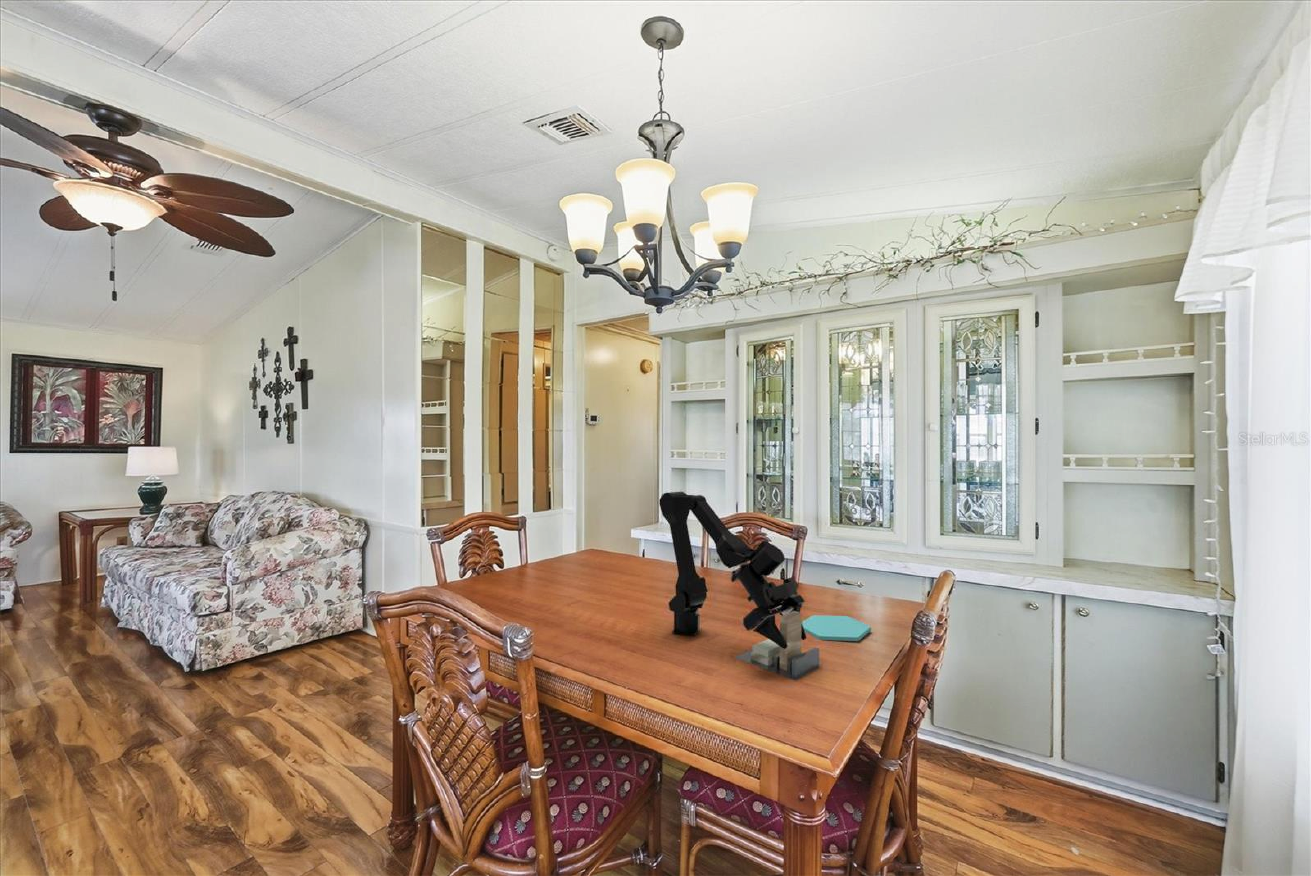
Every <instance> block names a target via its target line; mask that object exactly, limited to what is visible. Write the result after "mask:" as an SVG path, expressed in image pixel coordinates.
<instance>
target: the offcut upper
mask: <svg viewBox="0 0 1311 876" xmlns="http://www.w3.org/2000/svg"><path fill="white" fill-rule="evenodd" d="M752 649H753V652H755V653H757V654H760V655H763V656H766V657H770V656H772V655H774V654H776V653H778V652H780V646H779V645H777V644H776V643H774V642H773V641H771V640H770V639H768V638H766V639H765V640H763V641H760V642H758V643H756V644H753V645H752Z"/></svg>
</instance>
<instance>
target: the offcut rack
mask: <svg viewBox="0 0 1311 876" xmlns="http://www.w3.org/2000/svg"><path fill="white" fill-rule="evenodd" d="M752 652H753V648H752V649H750V650H748V651H746V652H744V653H741V654H739V655H736V656H735V657H734V658H735V659H737V660H740V661H742V662H746V663H748V664H751V665H753V666H755V667H757V668H760V669H764V670H766V671H769V672H771V673H773V674H777V675H779V676H781V677H785V678H787V679H790V680H792V681H797V680H800V679H801V678H802V677H805V676H807V675H808V674H810V673H812V672H813V671H815V670H817V669H819V668H820V667H823V665H824V664H821V663H820V648H818V647H814V648H812V649H809V650H807V651H805V652H802V653H801V655H799V656H797V657H795V658H793V659H791V660H789V661H787V671H786V670H784V669H781V668H780V654H778V655H776V656H774V663H773V664H771V665H769V666H767V665H765V664H762V663H759V662H757V661H754V660H751V653H752Z"/></svg>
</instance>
